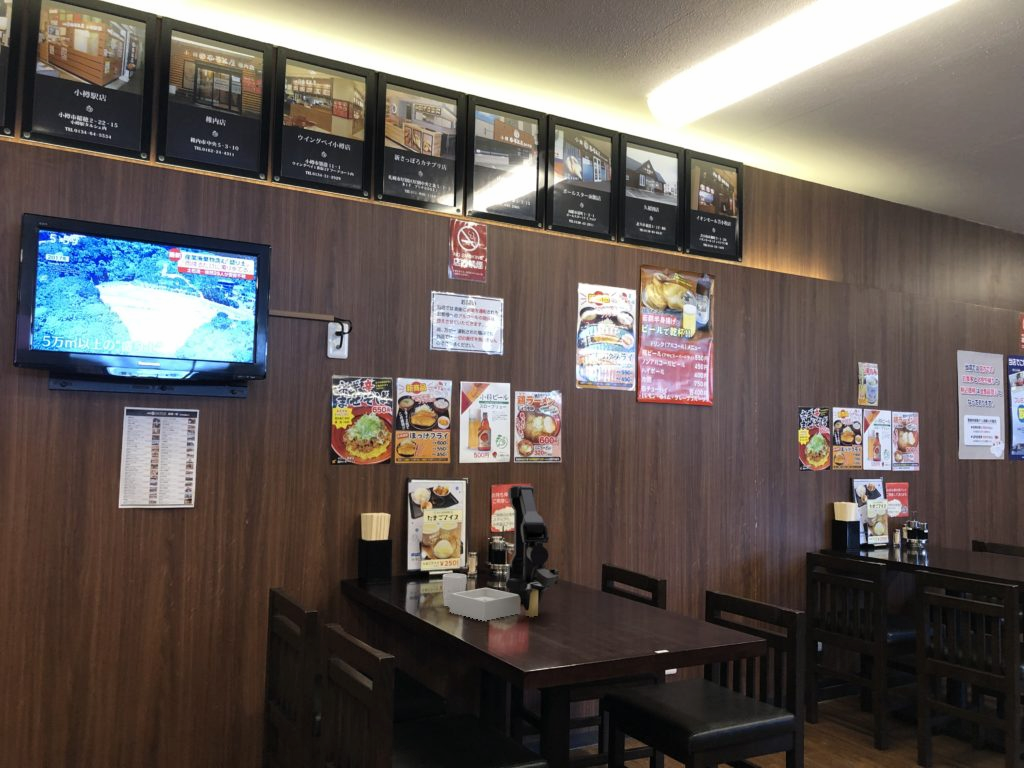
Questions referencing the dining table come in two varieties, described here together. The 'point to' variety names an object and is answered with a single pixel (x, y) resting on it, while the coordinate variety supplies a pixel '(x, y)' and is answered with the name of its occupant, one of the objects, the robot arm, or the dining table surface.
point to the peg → (533, 604)
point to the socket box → (484, 604)
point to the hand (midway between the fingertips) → (531, 609)
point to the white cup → (452, 585)
